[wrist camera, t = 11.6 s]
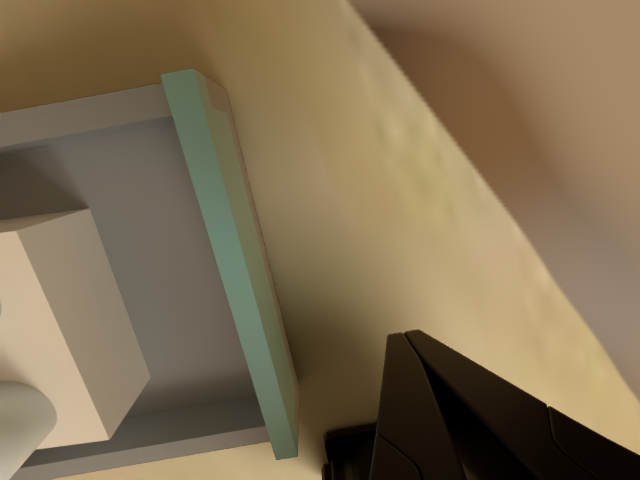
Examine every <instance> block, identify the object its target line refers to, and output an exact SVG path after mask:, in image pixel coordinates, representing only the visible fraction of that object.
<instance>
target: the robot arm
mask: <svg viewBox="0 0 640 480" xmlns="http://www.w3.org/2000/svg"><path fill="white" fill-rule="evenodd" d="M324 443H325V449H326V453H327V458H328V462H329V463H327V464H324V465H323V467H322V480H640V455H638V454H636V453H634V452H632V451H630V450H629V449H627V448H625V447H623V446H621V445H619V444H617V443H615V442H613V441H611V440H609V439H607V438H606V437H604V436H602V435H600V434H598V433H597V432H595V431H593V430H591V429H589V428H588V427H586V426H584V425H582V424H581V423H579V422H577V421H575V420H573V419H572V418H570V417H568V416H566V415H565V414H563V413H561V412H560V411H558V410H556V409H554V408H553V407H551V406H548V407H547V405H546V403H544V402H542V401H541V400H539V399H537V398H535V397H534V396H532V395H530V394H529V393H527V392H525V391H523V390H522V389H520V388H518V387H517V386H515V385H513V384H511V383H510V382H508V381H506V380H505V379H503V378H501V377H499V376H498V375H496V374H494V373H493V372H491V371H489V370H488V369H486V368H484V367H482V366H481V365H479V364H477V363H476V362H474V361H472V360H470V359H469V358H467V357H465V356H464V355H462V354H460V353H458V352H457V351H455V350H453V349H452V348H450V347H448V346H446V345H445V344H443V343H441V342H440V341H438V340H436V339H434V338H433V337H431V336H429V335H428V334H426V333H424V332H423V331H421V330H411V331H406V332H404V334H403V333H394V334H389V335H388V336H387V343H386V351H385V360H384V368H383V377H382V385H381V394H380V402H379V411H378V419H377V424H373V425H368V426H362V427H356V428H350V429H344V430H339V431H333V432H329V433H327V434H326V435H325V437H324Z"/></svg>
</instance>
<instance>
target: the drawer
mask: <svg viewBox="0 0 640 480" xmlns="http://www.w3.org/2000/svg"><path fill="white" fill-rule="evenodd" d="M160 76H161V80H162V83H159V84H154V85H148V86H143V87H137V88H132V89H127V90H121V91H116V92H111V93H105V94H100V95H94V96H89V97H84V98H78V99H73V100H68V101H62V102H57V103H52V104H46V105H41V106H35V107H30V108H25V109H19V110H14V111H9V112H3V113H0V220H3V219H11V218H19V217H26V216H34V215H42V214H50V213H57V212H65V211H73V210H81V209H88V208H90V211H91V213H92V216H93V219H94V222H95V225H96V227H97V230H98V233H99V236H100V238H101V241H102V244H103V247H104V249H105V252H106V255H107V258H108V261H109V263H110V266H111V269H112V272H113V274H114V277H115V280H116V283H117V285H118V288H119V291H120V294H121V297H122V299H123V302H124V305H125V308H126V310H127V313H128V316H129V319H130V321H131V324H132V327H133V330H134V332H135V335H136V338H137V341H138V344H139V346H140V349H141V352H142V355H143V357H144V360H145V363H146V366H147V368H148V371H149V374H150V377H151V378H150V379H149V381H148V382H147V384H146V385H145V387H144V388H143V390H142V391H141V393H140V394H139V396H138V397H137V399H136V400H135V402H134V404H133V405H132V407H131V408H130V410H129V411H128V413H127V414H126V416H125V417H124V419H123V420H122V422H121V423H120V425H119V426H118V428H117V429H116V431H115V432H114V434H113V435H112V437H111V438H110V440H104V441H97V442H89V443H82V444H74V445H67V446H59V447H52V448H44V449H36V450H35V451H34V452H33V453H32V454H31V455H30V456H29V457H28V459H27V460H26V461H25V462H24V463H23V464H22V465H21V467H20V468H19V469H18V470H17V471H16V472H15V473H14V475H13V476H12V477H11V478H10V479H9V480H48V479H54V478H60V477H66V476H72V475H77V474H83V473H89V472H95V471H101V470H106V469H112V468H118V467H124V466H130V465H135V464H141V463H147V462H153V461H159V460H164V459H170V458H176V457H182V456H187V455H193V454H199V453H205V452H211V451H216V450H222V449H228V448H234V447H240V446H245V445H251V444H257V443H263V442H269V441H271V444H272V448H273V451H274V454H275V458H276V460H280V459H286V458H291V457H297V456H298V426H299V385H298V381H297V377H296V373H295V369H294V365H293V361H292V357H291V353H290V348H289V344H288V340H287V336H286V332H285V328H284V324H283V320H282V316H281V312H280V308H279V303H278V299H277V295H276V291H275V287H274V283H273V279H272V275H271V271H270V267H269V262H268V258H267V254H266V250H265V246H264V242H263V238H262V234H261V230H260V226H259V222H258V217H257V213H256V209H255V205H254V201H253V197H252V193H251V189H250V185H249V181H248V177H247V172H246V168H245V164H244V160H243V156H242V152H241V148H240V144H239V140H238V136H237V132H236V127H235V123H234V119H233V115H232V111H231V107H230V103H229V99H228V95H227V91H226V90H225V89H224V88H222V87H221V86H219V85H218V84H216V83H215V82H213V81H212V80H210V79H209V78H207V77H206V76H204V75H203V74H201V73H200V72H198V71H197V70H195V69H194V68H191V69H185V70H180V71H175V72H169V73H164V74H160Z"/></svg>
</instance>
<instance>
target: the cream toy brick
mask: <svg viewBox="0 0 640 480" xmlns="http://www.w3.org/2000/svg"><path fill="white" fill-rule="evenodd" d="M150 378H151V377H150V374H149V371H148V368H147V366H146V363H145V360H144V357H143V355H142V352H141V349H140V346H139V344H138V341H137V338H136V335H135V332H134V330H133V327H132V324H131V321H130V319H129V316H128V313H127V310H126V308H125V305H124V302H123V299H122V297H121V294H120V291H119V288H118V285H117V283H116V280H115V277H114V274H113V272H112V269H111V266H110V263H109V261H108V258H107V255H106V252H105V249H104V247H103V244H102V241H101V238H100V236H99V233H98V230H97V227H96V225H95V222H94V219H93V216H92V213H91V211H90V208H88V209H81V210H73V211H65V212H57V213H50V214H42V215H34V216H26V217H19V218H11V219H3V220H0V480H9V479H10V478H11V477H12V476H13V475H14V473H15V472H16V471H17V470H18V469H19V468H20V467H21V465H22V464H23V463H24V462H25V461H26V460H27V459H28V457H29V456H30V455H31V454H32V453H33V452H34V451H35V450H36V449H44V448H52V447H59V446H67V445H74V444H82V443H89V442H97V441H104V440H110V438H111V437H112V435H113V434H114V432H115V431H116V429H117V428H118V426H119V425H120V423H121V422H122V420H123V419H124V417H125V416H126V414H127V413H128V411H129V410H130V408H131V407H132V405H133V404H134V402H135V400H136V399H137V397H138V396H139V394H140V393H141V391H142V390H143V388H144V387H145V385H146V384H147V382H148V381H149V379H150Z"/></svg>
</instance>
